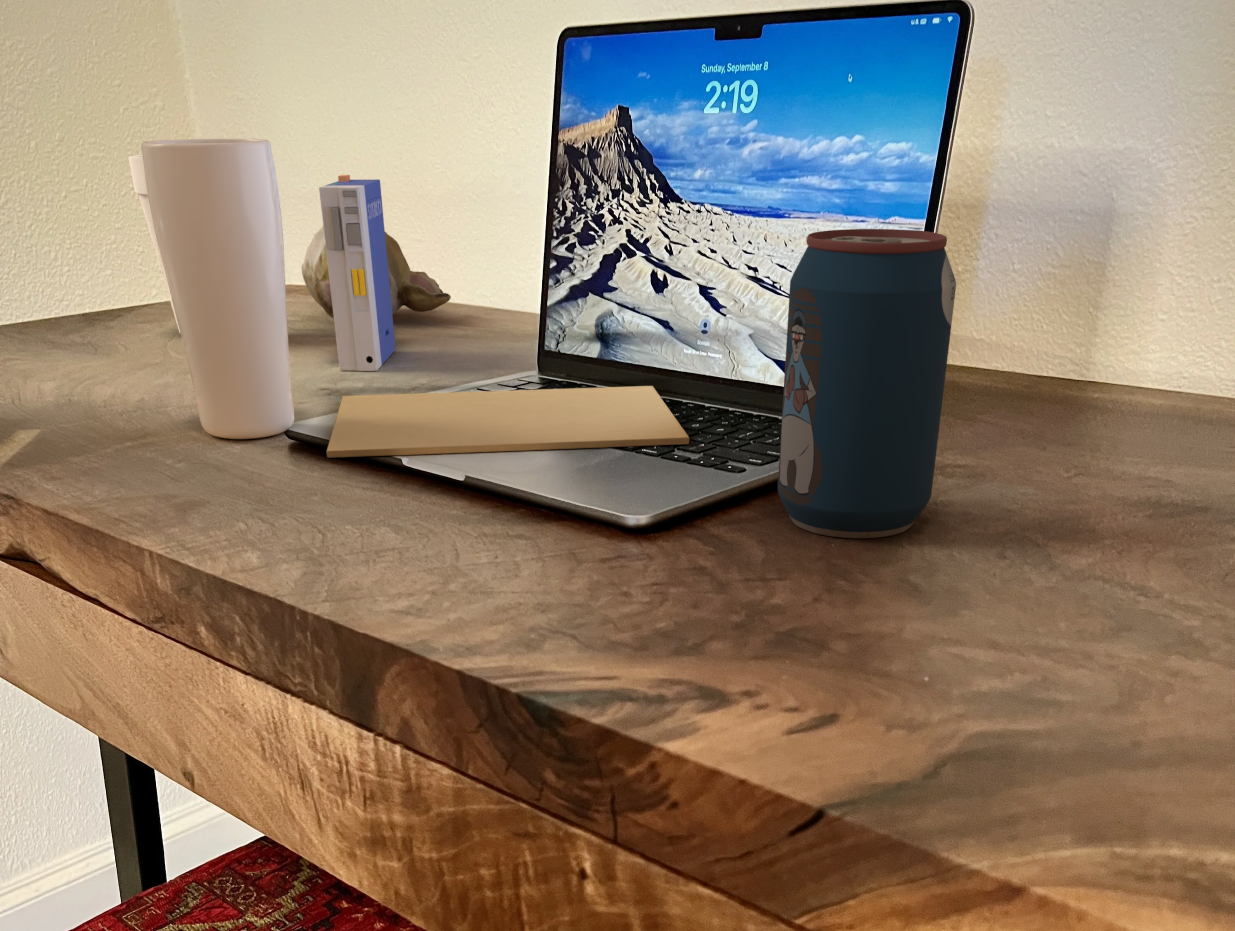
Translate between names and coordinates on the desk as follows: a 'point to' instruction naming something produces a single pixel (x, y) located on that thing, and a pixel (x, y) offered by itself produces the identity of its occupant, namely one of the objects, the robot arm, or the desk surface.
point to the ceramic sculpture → (404, 283)
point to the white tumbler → (225, 277)
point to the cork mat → (502, 421)
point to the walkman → (358, 272)
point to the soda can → (864, 380)
